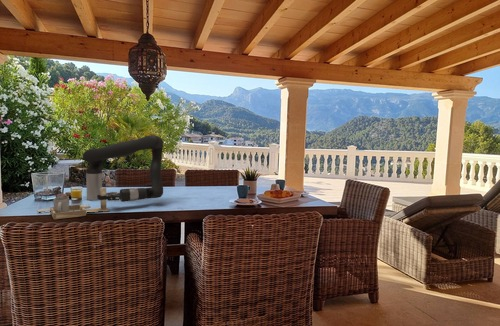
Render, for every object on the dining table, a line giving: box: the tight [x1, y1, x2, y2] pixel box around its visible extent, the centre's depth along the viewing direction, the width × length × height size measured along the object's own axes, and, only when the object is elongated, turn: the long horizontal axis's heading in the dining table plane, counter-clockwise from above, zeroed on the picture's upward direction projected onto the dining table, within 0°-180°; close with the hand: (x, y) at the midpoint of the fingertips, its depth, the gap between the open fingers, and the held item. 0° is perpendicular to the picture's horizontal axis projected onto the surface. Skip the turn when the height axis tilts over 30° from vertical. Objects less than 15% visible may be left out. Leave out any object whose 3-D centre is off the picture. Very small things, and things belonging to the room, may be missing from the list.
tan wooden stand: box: [50, 187, 110, 220], centre depth 182 cm, size 15×28×13 cm, turn 127°
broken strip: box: [37, 204, 91, 213], centre depth 189 cm, size 5×26×1 cm, turn 127°
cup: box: [53, 196, 70, 213], centre depth 176 cm, size 7×10×9 cm
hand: (98, 197), depth 187 cm, fingers closed on tan wooden stand, 3 cm apart
